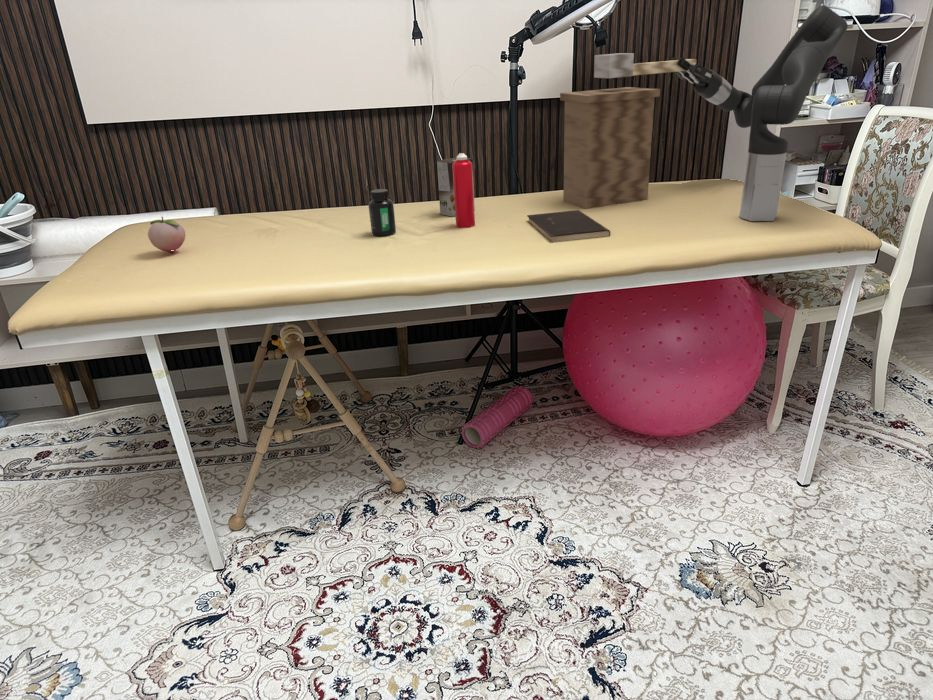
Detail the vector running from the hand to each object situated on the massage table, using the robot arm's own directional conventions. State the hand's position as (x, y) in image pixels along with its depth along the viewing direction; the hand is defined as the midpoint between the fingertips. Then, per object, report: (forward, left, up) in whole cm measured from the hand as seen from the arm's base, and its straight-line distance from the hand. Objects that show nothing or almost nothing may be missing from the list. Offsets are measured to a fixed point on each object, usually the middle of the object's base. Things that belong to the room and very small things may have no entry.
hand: (675, 60), depth 189 cm
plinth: (-11, +20, -39) cm, 45 cm away
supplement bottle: (-48, +82, -39) cm, 102 cm away
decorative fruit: (-66, +137, -39) cm, 157 cm away
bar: (-5, +8, -3) cm, 10 cm away
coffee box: (-25, +65, -39) cm, 80 cm away
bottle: (-40, +60, -39) cm, 82 cm away
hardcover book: (-44, +31, -40) cm, 67 cm away
